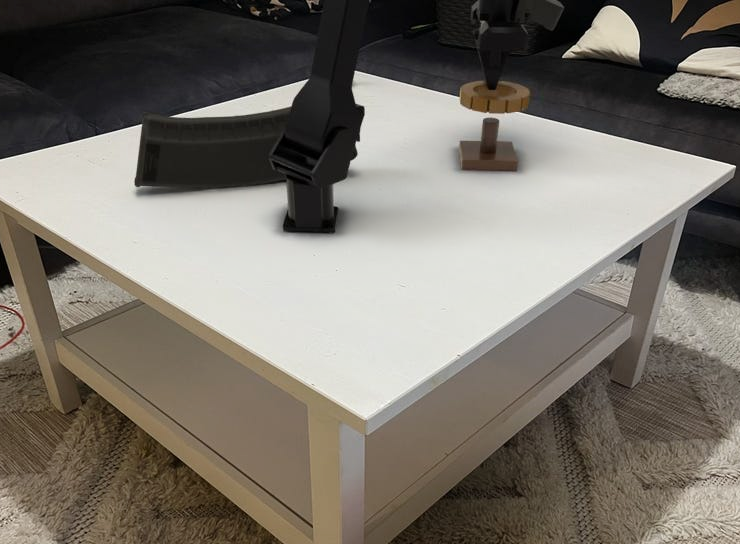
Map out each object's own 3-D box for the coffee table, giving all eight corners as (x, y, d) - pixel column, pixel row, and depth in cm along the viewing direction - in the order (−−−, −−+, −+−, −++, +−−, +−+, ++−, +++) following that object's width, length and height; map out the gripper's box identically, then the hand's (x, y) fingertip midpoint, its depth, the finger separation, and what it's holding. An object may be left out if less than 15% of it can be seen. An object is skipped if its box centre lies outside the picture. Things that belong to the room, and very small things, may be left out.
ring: (531, 114, 101) (533, 101, 99) (461, 113, 101) (462, 99, 100) (523, 93, 108) (524, 80, 107) (458, 92, 109) (459, 79, 107)
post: (516, 171, 106) (522, 130, 103) (461, 169, 107) (465, 128, 103) (510, 150, 113) (515, 111, 109) (458, 149, 113) (461, 110, 109)
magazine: (104, 131, 92) (324, 45, 93) (104, 123, 95) (319, 39, 96) (165, 243, 103) (362, 166, 104) (164, 233, 106) (357, 157, 106)
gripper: (577, -19, 90) (557, 109, 99) (553, -42, 105) (537, 71, 114) (486, -20, 90) (474, 107, 100) (475, -43, 105) (466, 69, 115)
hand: (491, 87), depth 107 cm, fingers closed on ring, 2 cm apart
